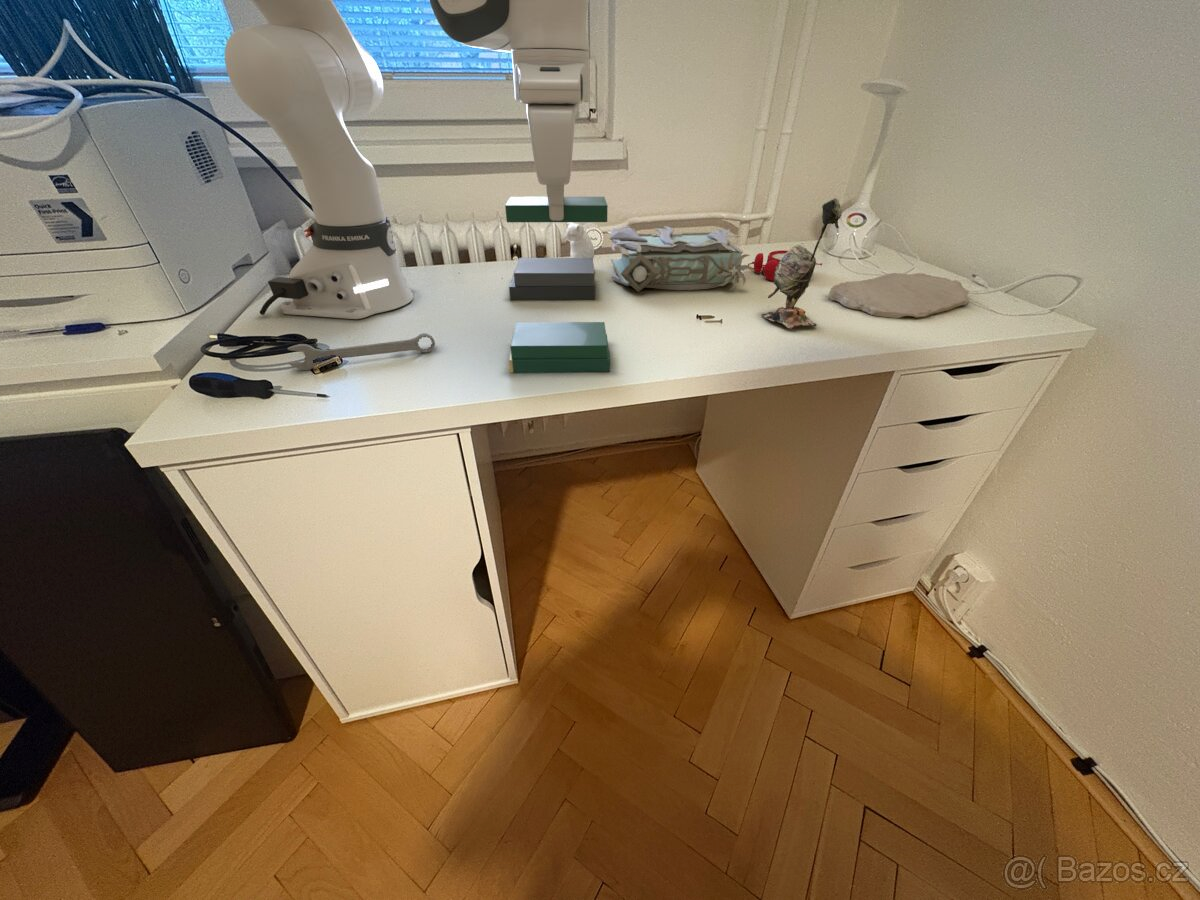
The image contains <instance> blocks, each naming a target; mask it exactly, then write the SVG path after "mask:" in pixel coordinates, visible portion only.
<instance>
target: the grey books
mask: <svg viewBox="0 0 1200 900" xmlns="http://www.w3.org/2000/svg"><path fill="white" fill-rule="evenodd" d="M594 265H595V264H594V257H593V258H571V257H518V259H517V262H516V266H515V268H514V270H513V274H512V277H511V279H510V283H509V286H508V290H509V299H510V301H540V300H541V301H556V300H557V301H566V300H567V301H575V300H576V301H577V300H578V301H580V300H582V301H585V300H586V301H589V300H590V301H595V300H596V283H595V281H596V277H595V276H596V275H595V267H594Z"/></svg>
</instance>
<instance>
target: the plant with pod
mask: <svg viewBox="0 0 1200 900" xmlns="http://www.w3.org/2000/svg"><path fill="white" fill-rule="evenodd" d="M821 208H822V215H821V217H822V219H821V221H822V224H823V225H822V228H821V231H820V236H819V238H818V239H817V242H816V244H815V247H814V249H813V252H811V251H810V250H808V249H807V248H805V246H803V245H805V242H804V243H803V242H802V243H801V242H800V244H796V245H794V246H792V247H791V248H790V249H789V250H786V251H787V253H786V254H785V255H784V257H783V258H782V259H781V261H780V262H779V264H778V266H777V267H776V271H775V275H774V281H773V284H774V285H775V286H776V287H775V289H773V292H771V293H769V294H768V296H767V299H771V298H772V297H774V296H775V295H776V294H777V293H778V292H780V293H782V294H784V296H786V298H785V299H786V300H785V307H783V306H781V307H778V308H777V309H776V311H775V312H773V311H769V312H767V313H761V316H762V317H764V318H765V319H766V320H768V321H770V322H777V323H778V324H783V325H784V326H785V327H786V328H787V329H794V328H797V327H800V326H806V327H808V326H809V327H811V326H812V327H817V326H818V324H817V323H815V322H813V321H812V320H811V319H810V317H809V316H807V315H806V310H805V309H803V308H801V307H797V306H796V305H797V302H799V299H800V298H801V297H802V296H803V295H804V294H805V292H806V290H807V289H808V288H809V286H810V283H811V278H812V277H813V274H814V272H815V268H816V263H817V260H816V257H815V256H816V252H817V249H818V247H819V244H820V242H821V240H822V238H823V235H824V234H825V232H826V230H827V226H828V225H830V224H831V225H834V226H835V228H836V229H839V228H840V226H839V220H840V219H841V217H843V216H842V214H843V211H842V210H841V204H840V201H839V199H838V198H835V197H834V198H833V199H831V200H828V201H827V202H825V203H823V204H822V206H821Z"/></svg>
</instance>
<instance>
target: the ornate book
mask: <svg viewBox="0 0 1200 900" xmlns="http://www.w3.org/2000/svg"><path fill="white" fill-rule="evenodd" d="M664 229H666V230H664ZM664 229H662V228H659V227H658V228H657V227H656V228H653V230H654V231H656V232H658V233H659V234H657V233H652V232H651V233H650V232H645V233H637V229H634V228H632V227H629V226H626V225H623V226H622V228H614V227H613V228H612V230H608V231H606V233H607V234H609V235H610V238H609V241H611V242H612V243H614V244H613V245H611V249H612V251H613V252H616V247H617V248H618V251H619V252H620V254H621V258H612V259H611V258H610V262H611V264H612V266H613V269H614V271H615V272H616V274H614V273H613V274H611V278H612V280H613V281H615V282H616V283H619V284H621V285H623V286H626V287H632V288H633V289H634V290H635V291H636V292H637V293H640V292H641V291H642V290H643V289H644V288H646V289H647V288H649V289H657V290H670V291H671V290H672V291H697V290H698V291H699V290H707V289H708V290H710V289H715V288H719V287H723V286H724V287H725V286H726V285H727V284H732V286H731V288H730V289H729V291H732V290H734V289H735V287H736V286H737V283H738V281H739V279H742V285H743V286H745V284H746V279H747V278H746V276H745V274H744V273H743V272H744V271H746V270H749V271H751V272H752V273H753V271H754V270H753V269H751V267H752V266H750V265H749V266H748V264H743V265H742V263H743V260H744V258H746V257H749V256H750V254H746V253H745V254H743V253H744V252H743V250H742V249H741V248H739V247H738V246H737V245H736V244H734V243H733V242H731V241H730V240H729V239H727V238H740V237H741V236H740V235H734V234H728V233H729V232H730V231H731V229H730V228H729V229H722V230H721V229H716V230H715V231H703V232H700V231H699V232H677V233H675V234H674V232H675V231H674V229H673V227H670V226H664Z"/></svg>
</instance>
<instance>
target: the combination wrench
mask: <svg viewBox="0 0 1200 900" xmlns="http://www.w3.org/2000/svg"><path fill="white" fill-rule="evenodd" d="M423 338H427V339H429V340H430V341H431V344H430V346H428V347H427V348H423V347H420V345H419V342H420V340H422V339H423ZM435 346H436V341H435V339H434V337H433V335H431V334H429V333H424V332H422V333H420V334H418V335H417V336H416V337H413V338H408V339H404V340H403V339H402V340H396V341H387V342H379V343H371V344H361V345H355V346H345V347H338V348H329V349H320V348H315V347H313V345H310V344H308V343H298V344H295V345H292V346H289V347H287V351H293V352H300V353H303V354H304V357H305V358H304V360H303V361H288V362H287V365H289V366H291V367H293V368H295V369H299V370H301V371H310V370H312V369H314V368H316V366H317V365H319V364H322V363H323V362H324V361H321V362H316V363H312V361H313V360H315V359H317V358H321V357H325V356H330V355H336V356H340V358H339V359H347V358H356V357H365V356H374V355H375V356H376V355H382V354H392V353H393V354H394V353H400V352H409V351H418V352H421V353H424V354H425V353H430V352H432V351H433V350H434V349H435Z"/></svg>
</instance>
